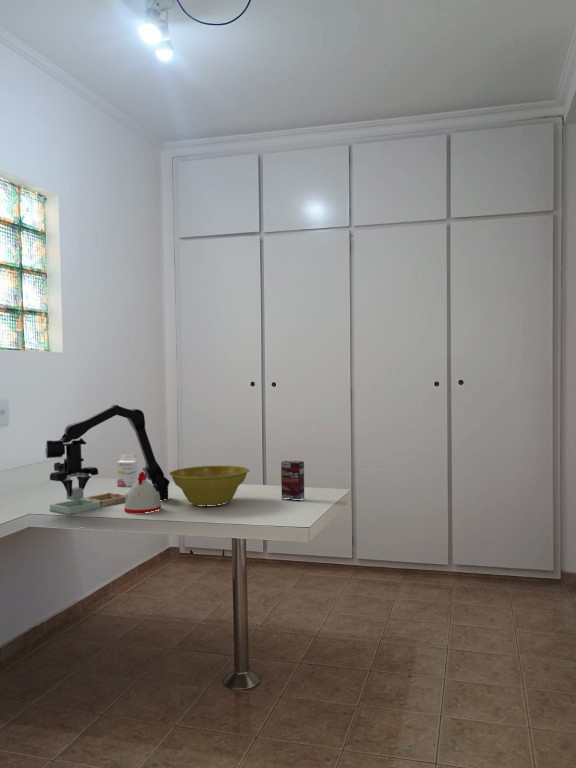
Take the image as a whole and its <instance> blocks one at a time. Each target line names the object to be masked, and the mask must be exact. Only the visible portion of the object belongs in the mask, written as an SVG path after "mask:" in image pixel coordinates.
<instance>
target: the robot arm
mask: <svg viewBox="0 0 576 768" xmlns="http://www.w3.org/2000/svg"><path fill="white" fill-rule="evenodd" d="M115 416H119V417H123V418H124V419H125V418H126V419H127V421H128V422H129V425H130V426H131V427H132V429H133V431H134V432H135V436H136V438H137V442H138V445H139V447H140V450H141V453H142V456H143V458H144V459H143V460H144V462H145V467H142V472H144V474H145V476H146V479H147V481H149V482H150V483H151V484H152V485H153V486H154V488H155V489H156V491H157V492H159V495H160V500H164V499H168V498H169V485H170V482H171V481H170V480H169V479H167V477H165V474H164V472H163V469H162V468H161V466H160V464H159V463H158V461H156V457H155V454H154V451H153V449H152V445H151V442H150V440H149V437H148V434H147V430H146V419H145V418H146V417H145V413H144V411H142V410H141V409H139V408H131V409H129V408H126V407H123V406H120V405H118V404H112V405H111V406H110V407H107V408H106V409H104V410H102V411H100V412H98V413H96V414H94V415H92V416H90V417H88V418H86V419H84V420H80V421H76V422H73V423H69V424H68V425H67V426H65V429H64V433H63V434H62V436H61V438H60V439H58V440H51V439H50V440H46V443H45V446H46V447H45V458H46V459H53V458H55V459H56V458H62V457H63V456H64V455H65V454H66V455H65V456H66V458H64V459H63V463H61V462H60V461H59V462H58V461H57V462H55V463H53V468H54V472H51V473H50V474H49V481H53V482H60V483H62V484H63V486H64V489H65V491H66V495H67V494H68V496H69V497H71V494H72V488H73V479H71V477H76V479H77V480H78V481H77V482H78V488H83V491H84V490H85V487H86V485H87V484H88V481H89V480H90V478H92V476H97V475H99V470H98V467H95V466H86V467H83V463H82V462H84V458H83V457H82V445H87V442H86V441H85V440H84V439H83V438H82V436H84V435H85V434H86V433H87V432H88V431H89V430H91V429H92V428H94V427H96V426H98V425H100V424H102V423H105V421H107V420H109V419H112V418H113V417H115ZM90 475H91V476H90Z"/></svg>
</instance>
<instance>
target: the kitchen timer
mask: <svg viewBox="0 0 576 768" xmlns="http://www.w3.org/2000/svg"><path fill="white" fill-rule="evenodd" d="M137 481H138V482H136V483H135V484H134V485H133V486H132V487H130V489H129V490H128V493H127V492H126V493H125V495H126V497H125V502H124V512H125V513H126V512H127V513H126V514H129V513H145V512H151V511H155V510H158V509H160V508H161V509H162V501H161V502H160V495H159V492H157V491H156V489H155V488H154V486H153V484H152V483H151V481H149V480H147V478H146V476H145V472H144V471H140V472H139V473H138V476H137Z"/></svg>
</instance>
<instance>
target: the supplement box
mask: <svg viewBox="0 0 576 768" xmlns="http://www.w3.org/2000/svg"><path fill="white" fill-rule="evenodd" d="M280 464H281V465H280V467H281V468H280V470H281V472H280V473H281V475H280V476H281V477H280V478H281V483H280V484H281V499H282V498H290V499H302V498H304V499H305V461H301V460H300V461H298V460H289V459H288V460H284V461H281V463H280Z"/></svg>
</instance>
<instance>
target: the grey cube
mask: <svg viewBox="0 0 576 768" xmlns="http://www.w3.org/2000/svg"><path fill="white" fill-rule="evenodd" d="M83 498H84V490H83V488H79V486H78V487H77V486H76V487H75V486H74V487H72V494H71V497H69V496H68V494H67V493H66V500H68V501H70V500H77V499H83Z"/></svg>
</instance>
